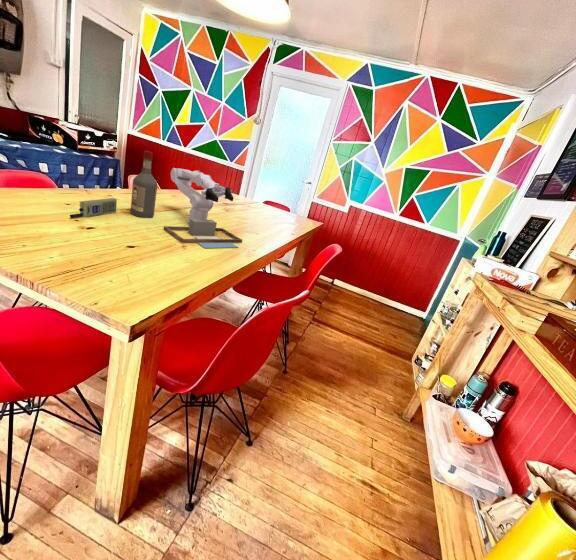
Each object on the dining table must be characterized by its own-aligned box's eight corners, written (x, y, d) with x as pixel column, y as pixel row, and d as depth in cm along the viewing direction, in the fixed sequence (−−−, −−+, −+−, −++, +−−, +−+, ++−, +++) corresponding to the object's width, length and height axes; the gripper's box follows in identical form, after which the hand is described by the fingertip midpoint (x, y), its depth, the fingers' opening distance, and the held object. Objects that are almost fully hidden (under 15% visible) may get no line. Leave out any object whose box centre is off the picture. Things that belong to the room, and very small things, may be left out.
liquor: (145, 212, 163) (151, 151, 152) (156, 218, 159) (163, 155, 148) (128, 212, 155) (133, 147, 145) (138, 218, 151) (145, 152, 141)
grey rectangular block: (187, 233, 150) (190, 218, 148) (209, 233, 159) (212, 220, 156) (192, 236, 148) (194, 221, 145) (214, 236, 157) (216, 222, 154)
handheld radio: (117, 213, 150) (74, 220, 127) (111, 211, 151) (67, 218, 127) (118, 199, 148) (74, 203, 125) (111, 197, 148) (67, 201, 125)
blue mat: (197, 243, 140) (197, 242, 140) (231, 243, 153) (231, 242, 153) (204, 248, 136) (204, 247, 136) (238, 248, 149) (238, 247, 149)
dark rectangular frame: (163, 229, 145) (163, 226, 145) (222, 231, 168) (222, 228, 168) (181, 243, 135) (182, 239, 134) (241, 242, 158) (242, 239, 158)
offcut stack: (193, 239, 145) (193, 236, 145) (221, 239, 156) (221, 236, 156) (198, 242, 143) (198, 239, 142) (226, 242, 154) (226, 239, 153)
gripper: (197, 179, 147) (211, 191, 139) (226, 179, 156) (240, 190, 148) (197, 194, 151) (209, 206, 143) (224, 193, 160) (238, 204, 152)
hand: (225, 199), depth 146 cm, fingers open, 7 cm apart
